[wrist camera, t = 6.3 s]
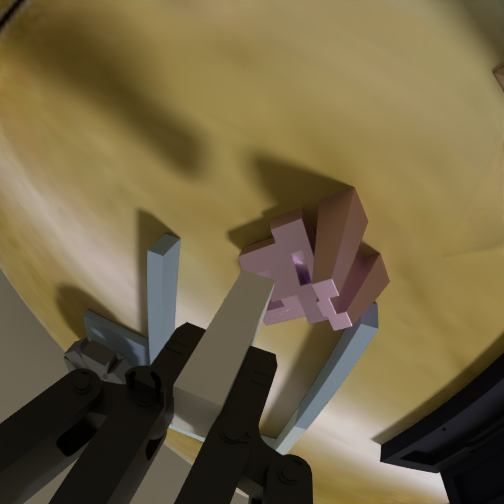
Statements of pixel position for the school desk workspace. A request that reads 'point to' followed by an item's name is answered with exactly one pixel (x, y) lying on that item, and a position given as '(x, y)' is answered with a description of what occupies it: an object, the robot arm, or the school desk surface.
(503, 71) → the alarm clock
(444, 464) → the black laptop
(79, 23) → the school desk surface
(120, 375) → the wheel
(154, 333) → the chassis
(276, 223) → the letters
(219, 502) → the robot arm
